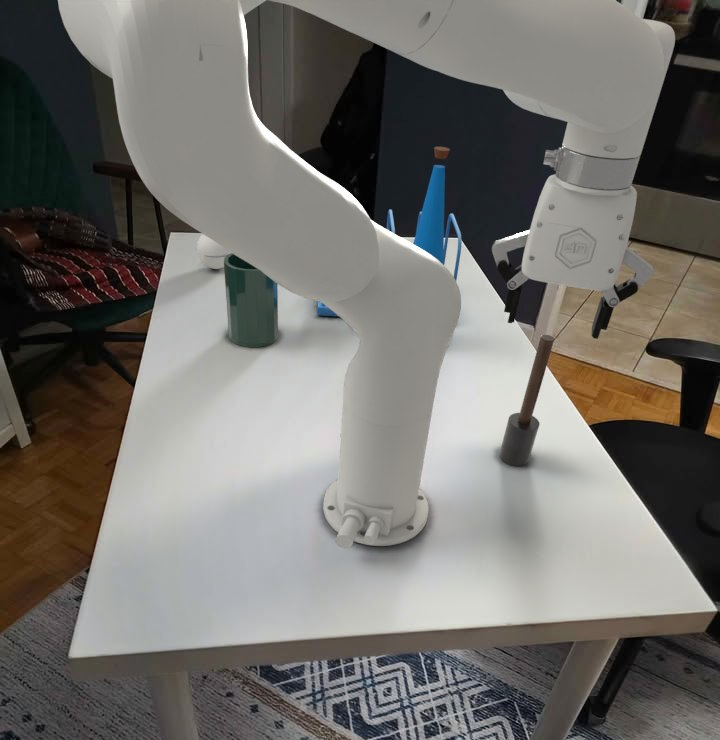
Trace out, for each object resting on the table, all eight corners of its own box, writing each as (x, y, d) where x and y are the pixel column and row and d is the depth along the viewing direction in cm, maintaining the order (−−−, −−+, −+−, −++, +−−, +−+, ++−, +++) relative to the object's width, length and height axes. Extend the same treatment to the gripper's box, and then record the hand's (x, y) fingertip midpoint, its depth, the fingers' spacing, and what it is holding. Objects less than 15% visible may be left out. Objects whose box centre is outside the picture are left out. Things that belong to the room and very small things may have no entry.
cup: (266, 351, 106) (264, 274, 97) (220, 341, 107) (214, 264, 99) (285, 330, 112) (284, 255, 104) (241, 321, 113) (237, 247, 105)
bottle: (429, 353, 109) (461, 157, 90) (388, 343, 111) (411, 149, 91) (440, 336, 114) (472, 147, 95) (401, 326, 116) (425, 139, 97)
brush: (527, 469, 86) (563, 348, 75) (497, 462, 87) (529, 341, 75) (529, 452, 89) (565, 333, 78) (500, 446, 90) (532, 327, 78)
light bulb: (195, 274, 127) (191, 236, 123) (201, 260, 133) (197, 223, 128) (246, 277, 128) (244, 239, 123) (250, 262, 134) (248, 226, 129)
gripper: (505, 166, 64) (474, 326, 75) (689, 192, 60) (629, 354, 71) (513, 149, 69) (483, 300, 80) (682, 172, 66) (627, 325, 77)
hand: (552, 325), depth 76 cm, fingers open, 9 cm apart
